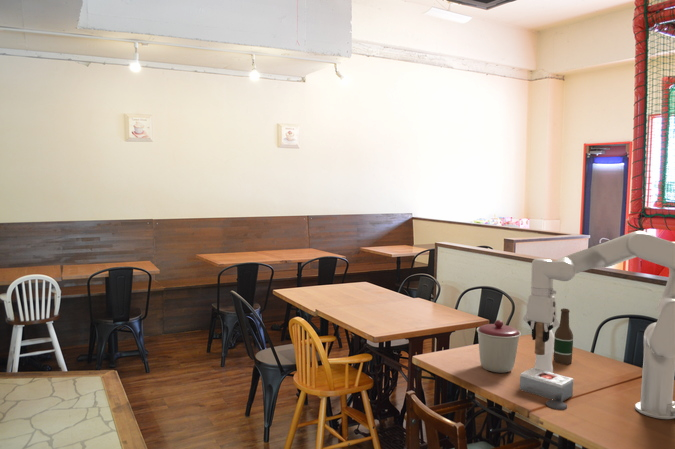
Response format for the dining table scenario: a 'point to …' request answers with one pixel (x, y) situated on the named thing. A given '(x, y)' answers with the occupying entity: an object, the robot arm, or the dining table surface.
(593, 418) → the dining table surface
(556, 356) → the beer bottle
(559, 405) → the coaster
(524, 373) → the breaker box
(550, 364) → the water bottle
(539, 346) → the brown wooden block
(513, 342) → the canister
